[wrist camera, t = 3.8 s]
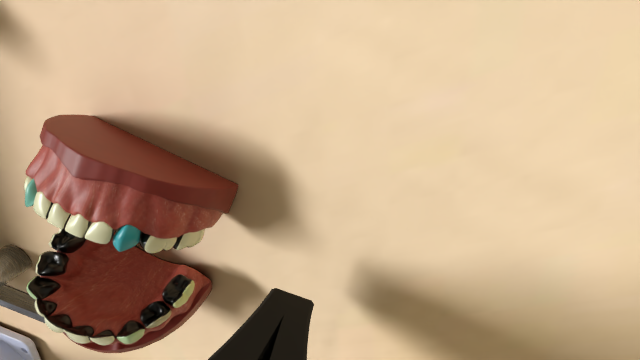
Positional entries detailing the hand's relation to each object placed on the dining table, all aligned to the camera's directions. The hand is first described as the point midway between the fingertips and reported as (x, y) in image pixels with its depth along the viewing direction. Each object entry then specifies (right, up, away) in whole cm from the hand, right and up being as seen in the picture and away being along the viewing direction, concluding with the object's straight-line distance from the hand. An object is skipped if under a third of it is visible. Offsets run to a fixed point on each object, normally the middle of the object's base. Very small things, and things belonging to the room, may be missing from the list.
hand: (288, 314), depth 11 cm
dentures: (-6, +3, +3) cm, 7 cm away
